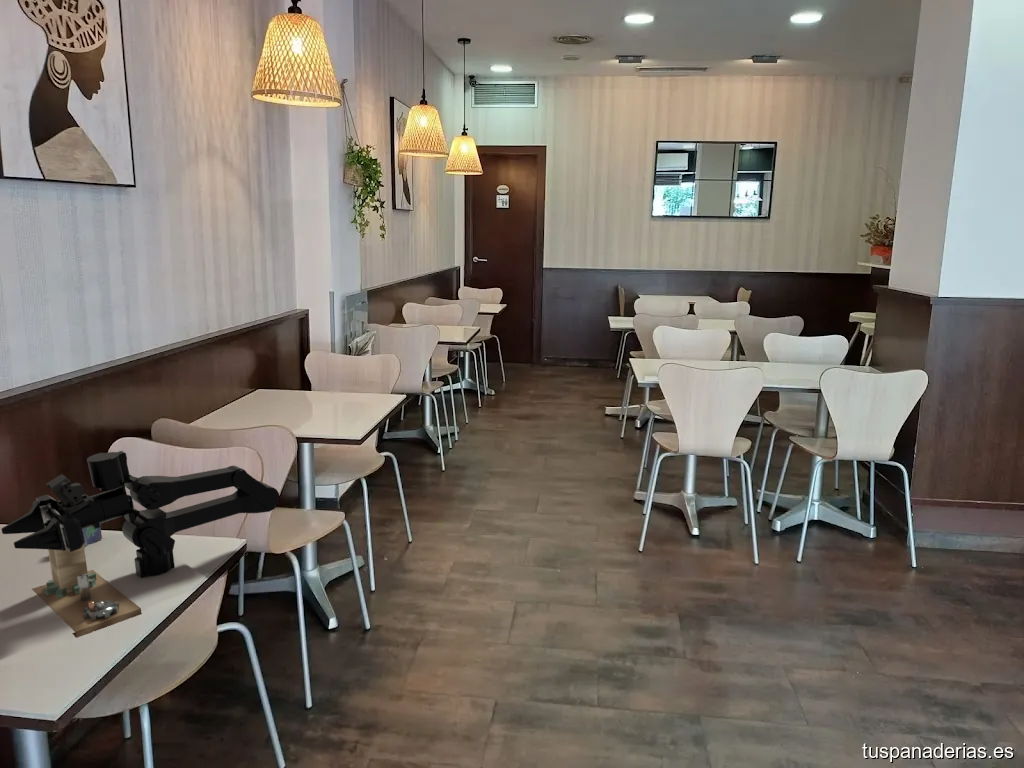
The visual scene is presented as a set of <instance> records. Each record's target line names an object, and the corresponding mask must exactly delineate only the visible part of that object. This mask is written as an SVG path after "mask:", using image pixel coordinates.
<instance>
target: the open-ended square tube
mask: <svg viewBox="0 0 1024 768" xmlns="http://www.w3.org/2000/svg"><path fill="white" fill-rule="evenodd" d="M65 548H66V547H65ZM47 552H48V558H49V564H50V572H51V578H52V579H51V580H48V581H46V584H47V587H46V588H45V593H46V594H47V595H50V594H53V593H56V597H63V596H64V595H65V594H67V593H69V592H72V591H73V592H74V593H75V594H79V586H78V579H77V576H78V575H79V574H82V573H87V574H88V572H87V571H88V566H87V559H86V552H85V548H84V544H83V546H82V547H81V548H80V549H77V550H75V551H72V552H69V551H68V550H67V549H66V550H65V551H62V550H50V549H47ZM88 579H89V587H93V586H95V585H96V582H95V580H97V579H96V574H95V573H90V574H88ZM46 584H45V585H46Z"/></svg>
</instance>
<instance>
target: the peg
mask: <svg viewBox="0 0 1024 768" xmlns="http://www.w3.org/2000/svg"><path fill="white" fill-rule="evenodd" d="M77 579H78V586H79V593H80V600H81V601H87V600H90V599H91V594H90V587H89V579H88V574H87V573H82V574H79V575H78V576H77Z"/></svg>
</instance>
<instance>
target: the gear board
mask: <svg viewBox="0 0 1024 768" xmlns="http://www.w3.org/2000/svg"><path fill="white" fill-rule="evenodd" d="M87 572H88V574H90V573H95V574H96V579H97V580H95V582H96V585H95V586H93V587H90V594H91V599H90V600H87V601H81V600H80V593H79V594H75V593H74V592H73V591H72V592H69V593H67V594H65V595H64V596H63V597H56V593H53V594H50V595H47V594H46V593H45V588H46V587H47V584H43V585H40V586H36V587H33V588H32V590H33V591H34V592H35V593H36V594H37V596H39V597H40V599H41V600H42V601H43V602H44V603H46V604H47V605H48V606H49V607H50V608H51V610H53V612H55V613H56V614H57V615H58V616H59V617H60V618H61V620H63V621H64V622H65V623H66V624H67V625H68V626H69V627H70V628H71V629H72V630H73V631H74V632H73V633H72V635H73V636H74V637H75V639H77V638H80V637H83V636H85V635H88V634H91V633H93V631H94V632H97V631H99V630H101V629H104V628H108V627H111V626H113V625H115V624H118V622H119V623H121V622H124V621H127V620H130V619H133V618H135V617H137V616H140V615H142V608H141V607H140V606H139V605H137V604H136V603H135V602H134V601H132V600H131V598H129V597H128V596H127V595H125V594H124V593H123V592H121V591H120V590H119V589H117V588H116V586H114V585H113V584H111V583H110V582H109V581H107V580H106V579H105V578H103V576H101V575H100V574H99V573H97V572H96V571H95V570H94V569H91V570H87ZM106 600H111V602H113V603H114V602H118V603H119V612H118V613H117V614H112V615H111V616H110V618H108V619H104V618H103V619H98V620H97V621H91V619H87V620H85V619H84V618H83V613H84V609H85V608H86V607H89V604H88V603H89V602H90V601H94V603H97V602H98V601H104V602H105V601H106ZM129 618H130V619H129ZM107 626H108V627H107Z"/></svg>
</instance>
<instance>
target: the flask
mask: <svg viewBox="0 0 1024 768" xmlns="http://www.w3.org/2000/svg"><path fill="white" fill-rule="evenodd" d="M101 527H102V526H101V524H100V527H99V528H96V529H94V528H93V527H89V528H86V529H83V530H82V532H83V536H84V540H85V543H84V549H86V547H88V546H89V545H92V544H96V543H99V542H101V539H102V540H103V534H102V529H101ZM98 541H99V542H98Z"/></svg>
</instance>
